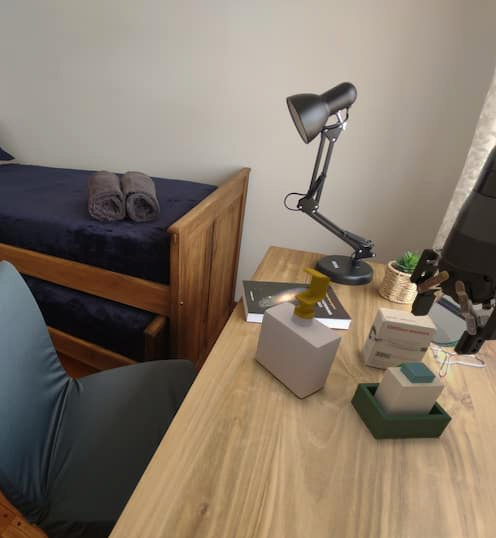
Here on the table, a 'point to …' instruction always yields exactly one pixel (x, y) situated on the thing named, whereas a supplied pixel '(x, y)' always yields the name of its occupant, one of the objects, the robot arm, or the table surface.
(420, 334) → the ink box
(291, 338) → the soap bottle
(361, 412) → the holder
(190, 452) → the table surface
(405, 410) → the beige teal-capped bottle
